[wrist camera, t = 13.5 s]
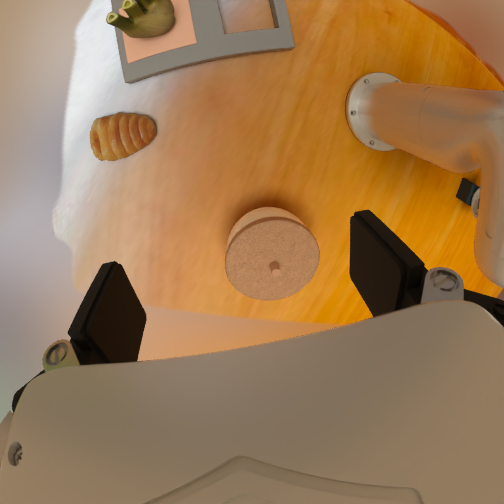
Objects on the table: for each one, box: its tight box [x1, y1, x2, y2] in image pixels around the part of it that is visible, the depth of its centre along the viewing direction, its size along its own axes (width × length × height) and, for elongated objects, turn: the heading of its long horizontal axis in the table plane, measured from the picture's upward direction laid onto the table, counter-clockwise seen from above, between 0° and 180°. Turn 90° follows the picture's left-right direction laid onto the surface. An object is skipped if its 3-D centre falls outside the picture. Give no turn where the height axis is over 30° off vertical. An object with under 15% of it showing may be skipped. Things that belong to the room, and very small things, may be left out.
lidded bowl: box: [225, 207, 320, 300], centre depth 40 cm, size 13×13×11 cm
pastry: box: [90, 112, 156, 161], centre depth 33 cm, size 9×7×4 cm
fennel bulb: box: [106, 0, 175, 38], centre depth 19 cm, size 6×5×12 cm
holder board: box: [111, 0, 295, 84], centre depth 26 cm, size 22×14×3 cm, turn 100°
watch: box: [456, 178, 481, 219], centre depth 39 cm, size 6×8×11 cm
